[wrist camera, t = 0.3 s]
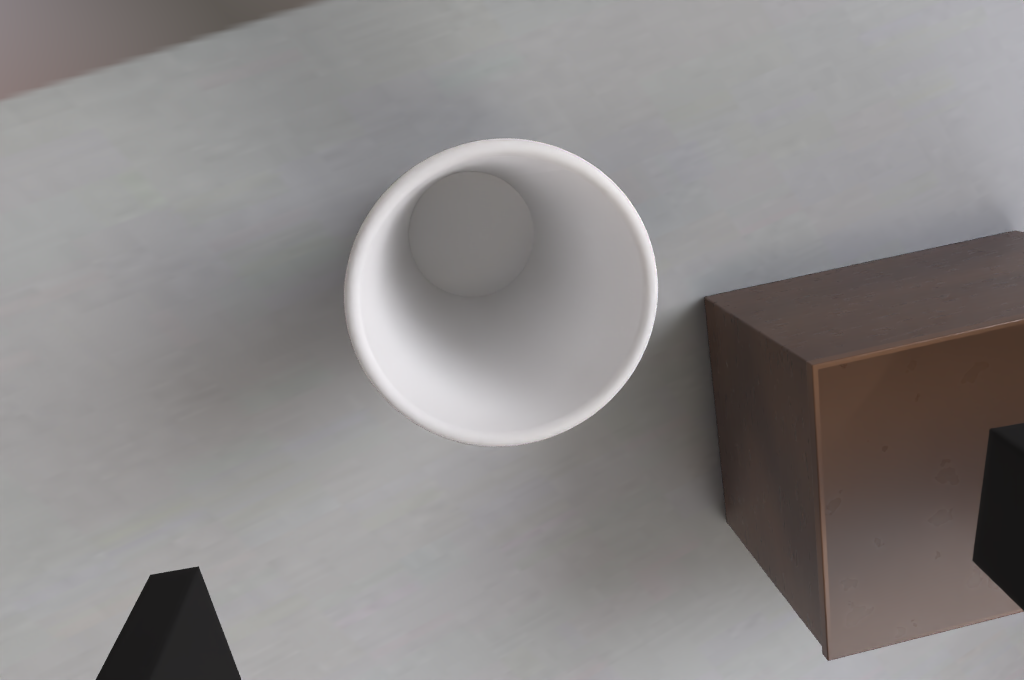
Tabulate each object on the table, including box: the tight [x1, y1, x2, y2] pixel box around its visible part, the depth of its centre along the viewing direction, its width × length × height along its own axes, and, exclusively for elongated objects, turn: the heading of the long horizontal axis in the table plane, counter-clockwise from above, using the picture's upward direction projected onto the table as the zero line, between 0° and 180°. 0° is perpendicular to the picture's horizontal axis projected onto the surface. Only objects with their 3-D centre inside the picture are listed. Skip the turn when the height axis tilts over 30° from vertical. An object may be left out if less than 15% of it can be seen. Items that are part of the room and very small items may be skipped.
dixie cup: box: [344, 138, 658, 447], centre depth 24 cm, size 8×8×11 cm
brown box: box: [704, 231, 1024, 661], centre depth 29 cm, size 11×14×9 cm
